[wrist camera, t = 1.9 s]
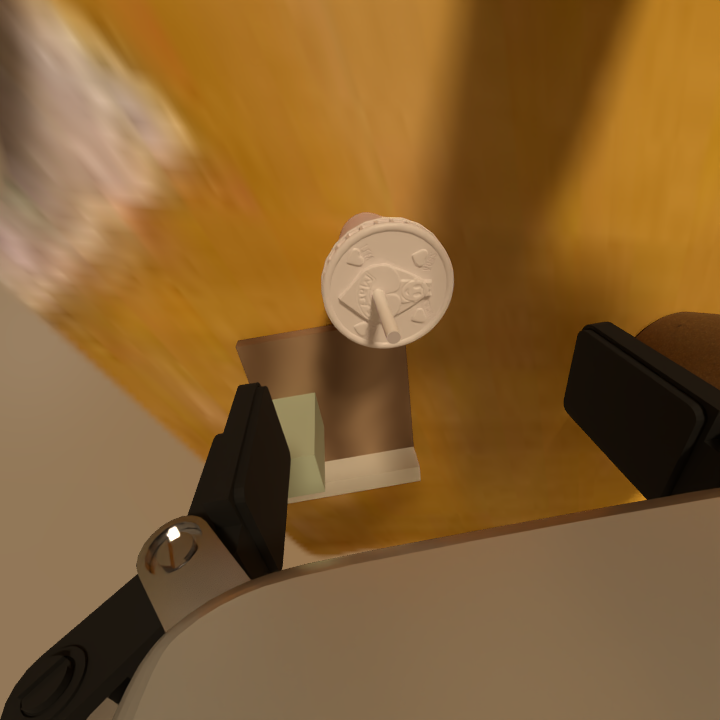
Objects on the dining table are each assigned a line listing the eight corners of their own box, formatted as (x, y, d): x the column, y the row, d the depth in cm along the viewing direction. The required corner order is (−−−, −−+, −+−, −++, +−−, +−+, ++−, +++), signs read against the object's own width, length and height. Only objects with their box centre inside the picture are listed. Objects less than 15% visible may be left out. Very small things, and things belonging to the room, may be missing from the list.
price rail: (411, 439, 36) (419, 466, 33) (412, 453, 37) (420, 481, 34) (283, 461, 36) (279, 490, 33) (288, 475, 37) (285, 504, 34)
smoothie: (313, 195, 23) (308, 259, 11) (411, 185, 23) (505, 238, 12) (326, 289, 27) (333, 412, 15) (411, 279, 27) (484, 393, 15)
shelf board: (400, 313, 28) (403, 318, 27) (412, 453, 37) (414, 460, 36) (238, 340, 28) (235, 347, 27) (288, 474, 37) (287, 482, 36)
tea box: (315, 392, 30) (314, 454, 24) (324, 427, 33) (325, 493, 27) (256, 402, 30) (241, 467, 24) (270, 437, 33) (259, 504, 27)
